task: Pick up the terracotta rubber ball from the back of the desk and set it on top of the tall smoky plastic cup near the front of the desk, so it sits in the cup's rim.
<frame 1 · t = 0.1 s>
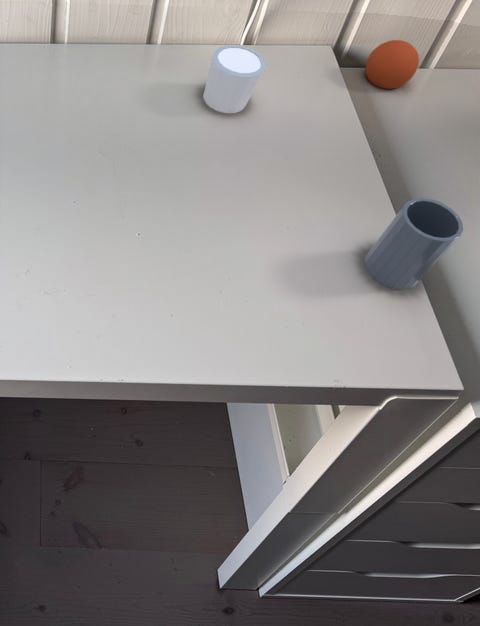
white cylinder: (222, 105, 92), on the table
ball: (391, 64, 94), point 3 cm above the table
cup: (387, 273, 76), on the table
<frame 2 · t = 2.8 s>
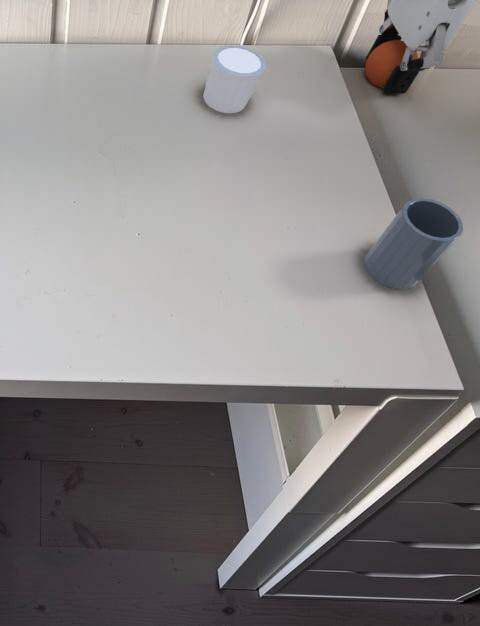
hand: (385, 75, 95), 1 cm above the table, tool pointing down, fingers closed on ball, 6 cm apart
ball: (391, 64, 94), point 3 cm above the table, touching gripper
everything else where it was.
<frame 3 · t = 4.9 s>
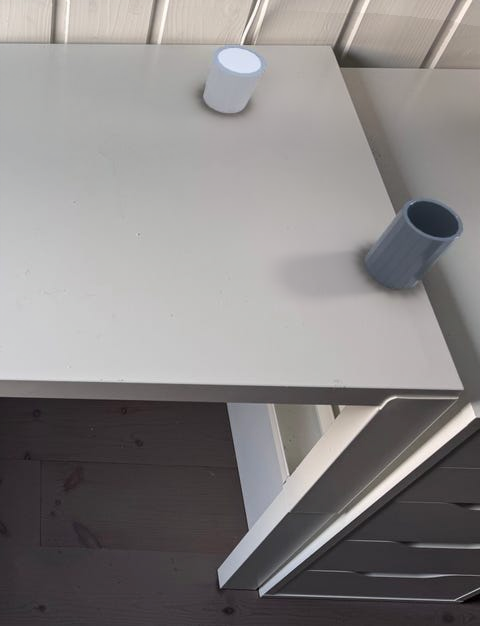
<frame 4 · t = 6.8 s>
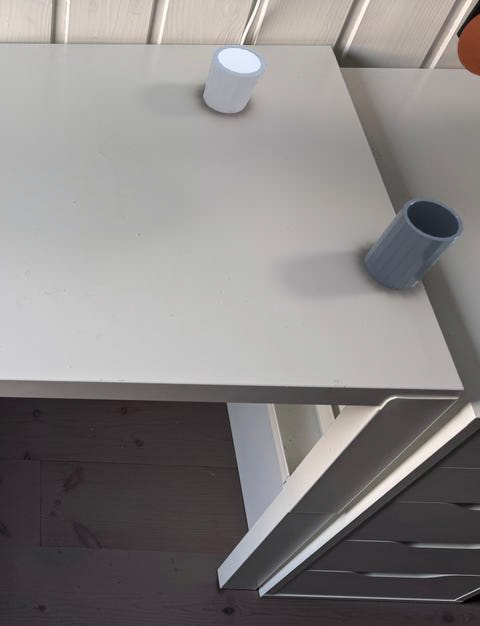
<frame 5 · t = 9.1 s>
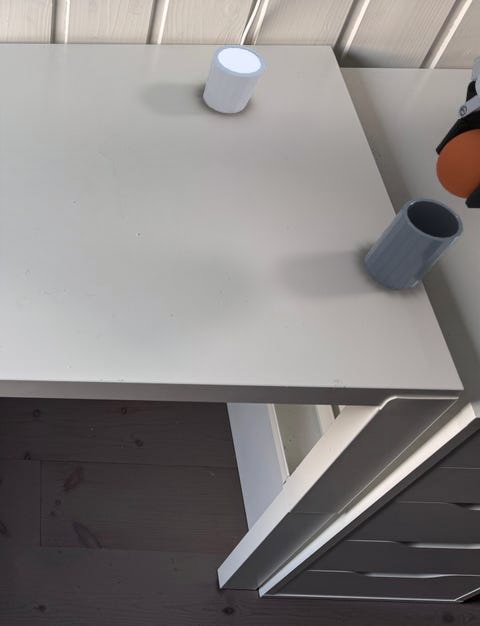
hand: (466, 177, 64), 15 cm above the table, tool pointing down, fingers closed on ball, 6 cm apart
ball: (477, 164, 63), point 16 cm above the table, touching gripper
everything else where it was.
when the fingers open (9 cm above the table, at t = 11.1 s): ball stays where it is, resting on cup.
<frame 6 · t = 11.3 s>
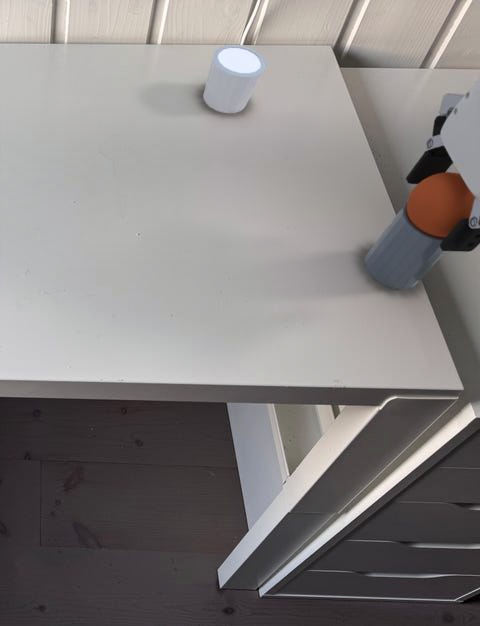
hand: (437, 213, 68), 10 cm above the table, tool pointing down, fingers open, 8 cm apart
ball: (444, 205, 67), point 11 cm above the table, touching cup
cup: (387, 273, 76), on the table, touching ball
everything else where it was.
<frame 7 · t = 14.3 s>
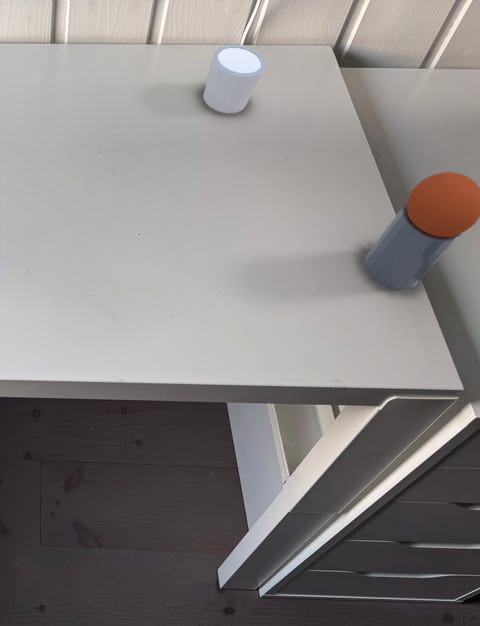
nothing on the table moved.
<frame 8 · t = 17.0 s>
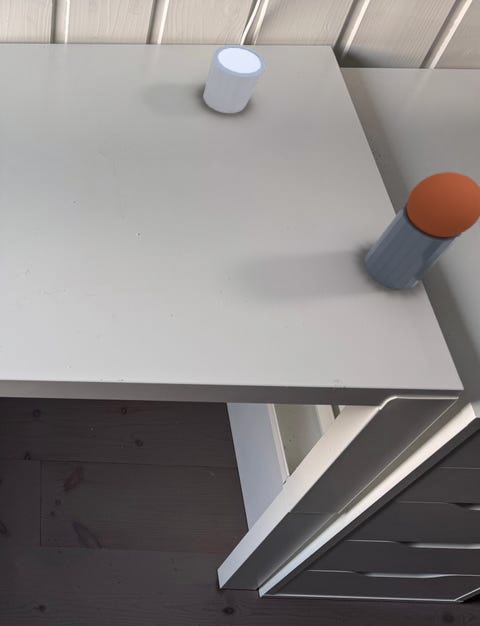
nothing on the table moved.
at the end: ball 0.0 cm off-centre on the cup, point 11.0 cm above the cup's base; the gripper is holding nothing; cup tilted 0° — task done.
